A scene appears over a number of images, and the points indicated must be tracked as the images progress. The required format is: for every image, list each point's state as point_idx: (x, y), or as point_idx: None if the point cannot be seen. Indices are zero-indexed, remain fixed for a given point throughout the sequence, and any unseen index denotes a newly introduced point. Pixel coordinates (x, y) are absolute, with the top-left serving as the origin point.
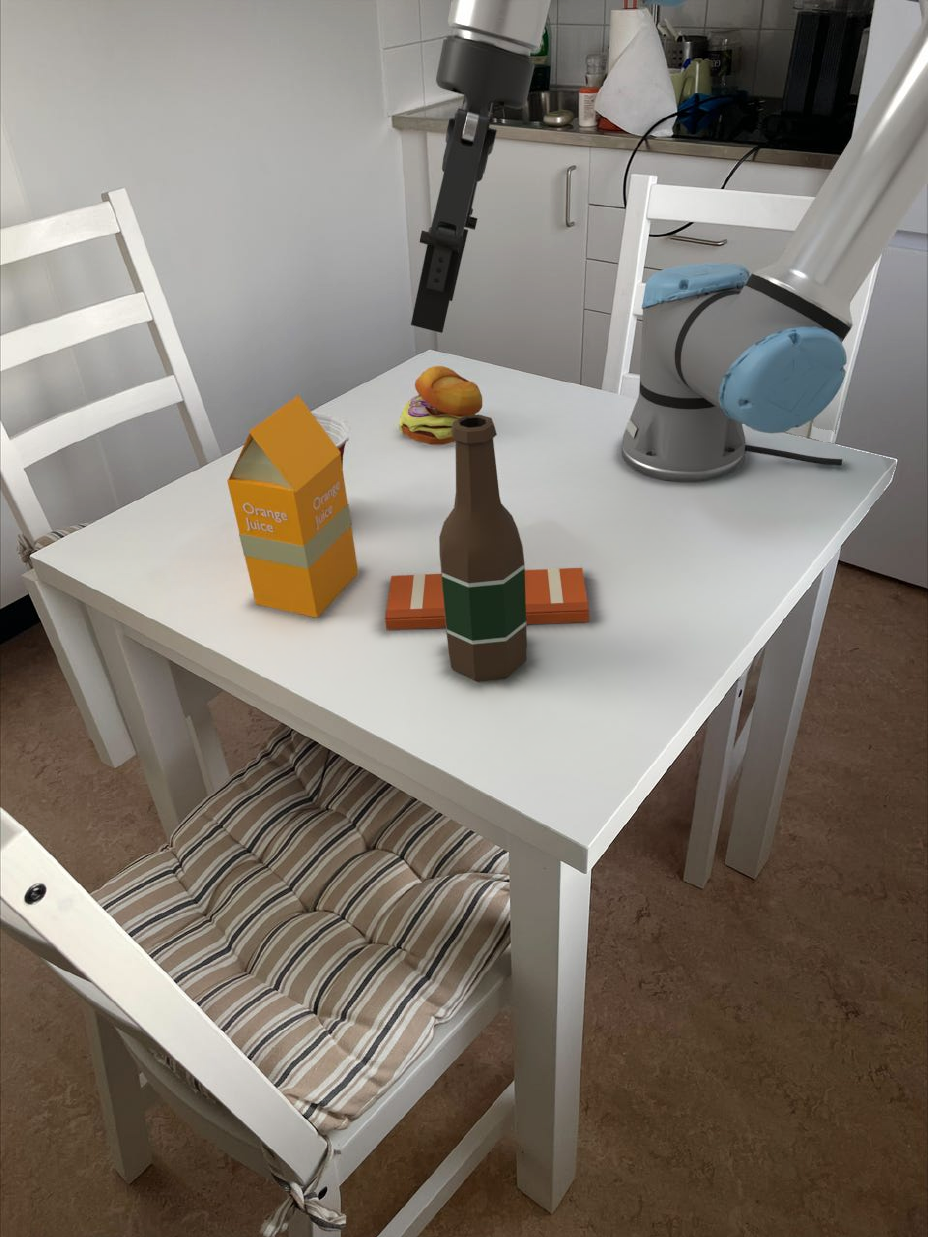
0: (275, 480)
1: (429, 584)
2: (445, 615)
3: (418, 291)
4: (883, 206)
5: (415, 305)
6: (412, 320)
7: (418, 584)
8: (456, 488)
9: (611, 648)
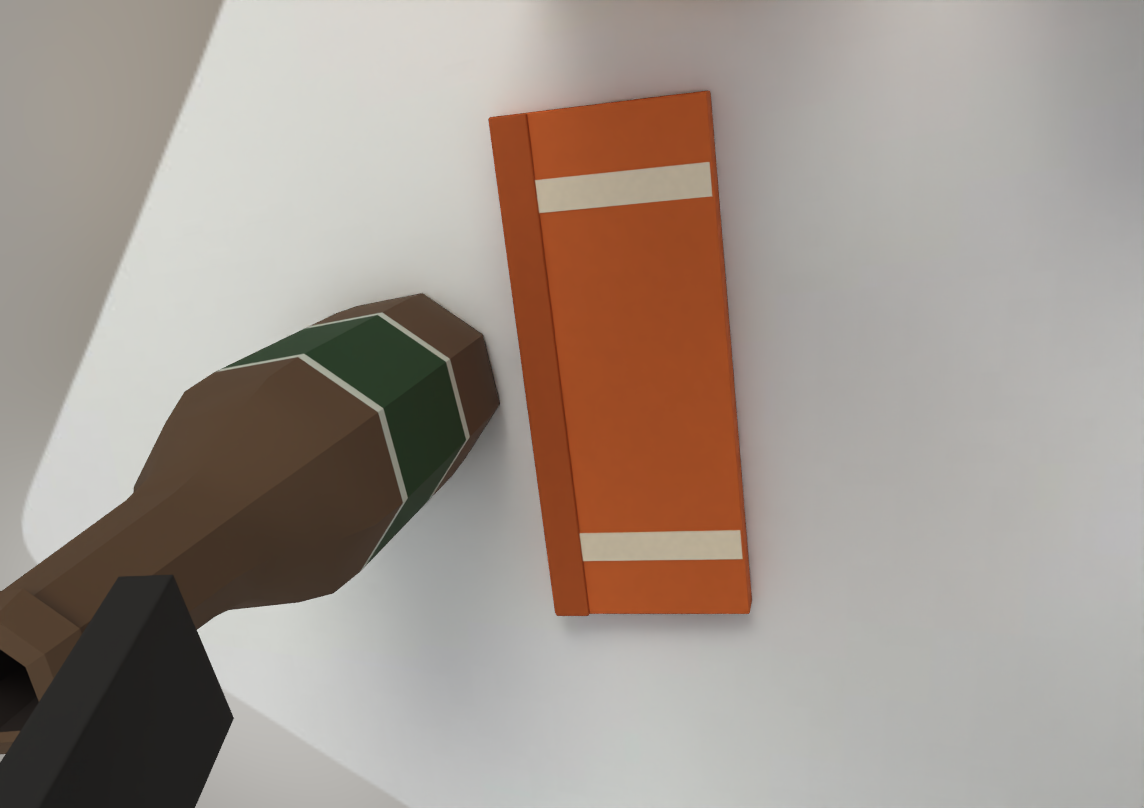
0: None
1: (659, 216)
2: (299, 334)
3: (11, 755)
4: None
5: (57, 675)
6: (104, 602)
7: (658, 184)
8: (140, 506)
9: (473, 636)
